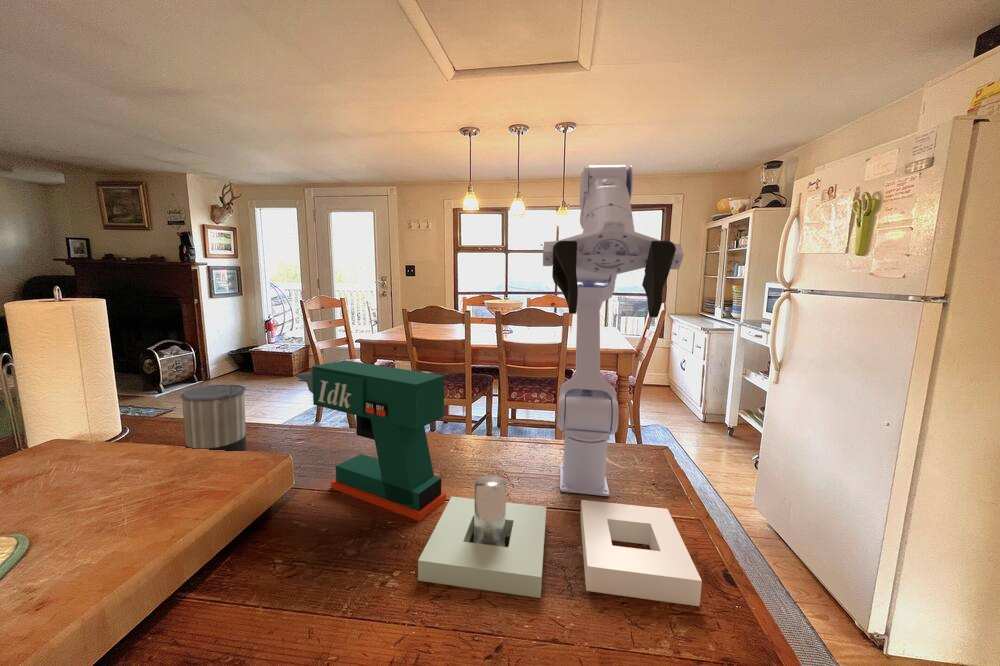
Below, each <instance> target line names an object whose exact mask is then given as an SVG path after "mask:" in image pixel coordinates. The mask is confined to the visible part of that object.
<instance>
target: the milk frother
mask: <svg viewBox="0 0 1000 666" xmlns="http://www.w3.org/2000/svg"><path fill="white" fill-rule="evenodd" d="M246 390H247V388H246V387H245V386H243V385H239V384H231V383H230V384H227V383H226V384H211V385H205V386H199V387H193V388H190V389H186V390H185V391H182V392H181V393H179V398H181V400H182V402H181V403H182V415H183V428H184V429H183V430H184V431H183V432H184V441H185V442H184V443H185V449H186V448H192V449H209V450H225V451H247V433H246V429H247V428H246V411H245V410H246V409H245V408H246V407H245V405H246V404H245V392H246Z"/></svg>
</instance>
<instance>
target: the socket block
mask: <svg viewBox="0 0 1000 666" xmlns="http://www.w3.org/2000/svg"><path fill="white" fill-rule="evenodd" d="M474 507H475V498H468V497H459V496H450V498H449V501H448V502H447V505H446V506H445V508H444V510H443V512H442V514H441V516H440V518H439V520H438V522H437V524H436V526H435V528H434V529H433V531H432V533H431V535H430V537H429V539H428V541H427V543H426V545H425V546H424V548H423V551H422V552H421V554H420V556H419V558H418V560H417V581H418V582H419V581H420V582H427V583H432V584H440V585H448V586H453V587H461V588H468V589H474V590H481V591H489V592H496V593H503V594H509V595H515V596H523V597H530V598H539V599H541V598H542V585H543V583H542V582H543V570H544V569H543V568H544V567H543V566H544V552H545V538H546V520H547V506H543V505H533V504H525V503H524V504H523V503H516V502H507V501H506V519H505V538H509V542H508V546H505V547H502V546H494V545H486V544H478V543H474V542H470V541H471V539H472V535H473V534H474Z"/></svg>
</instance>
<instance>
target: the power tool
mask: <svg viewBox="0 0 1000 666" xmlns="http://www.w3.org/2000/svg"><path fill="white" fill-rule="evenodd" d="M311 368H312V370H311V371H309V372H302V373H301V372H299V373H294V374H293V376H294V377H297V378H298V379H300V380H301V381H303V382H305V383H306V385H307V387H308V391H309V392H310V393H311V394H312V400H313V402H312V403H313V404H312V405H313V406H316V407H321V408H325V409H329V410H333V411H338V412H341V413H345V414H346V413H347V414H350V415H355V416H356V417H355V418H356V419H355V420H356V424H355V425H356V426H355V427H356V428H355V429H356V436H359V437H362V438H366V439H368V440H369V439H370V440H373V441H374V443H375V448H376V454H377V458H376V457H373V456H370V455H366V454H363V453H360V454H357V455H355V456H353V457H352V458H349V459H347V460H345V461H342V462H341V463H338V464H336V465H335V479H334V480H332V481H331V482H330V489H332V490H335V491H338V492H341V493H343V494H346V495H348V496H351V497H354V498H356V499H359V500H362V501H363V502H364V501H365V502H367V503H369V504H372V503H373V504H372V505H375V504H376V506H378V505H379V506H378V507H380V506H381V507H380V508H383V507H384V508H383V509H386V510H388V509H389V510H388V511H391V512H394V513H396V514H399V515H402V516H404V517H407V518H410V519H413V520H415V521H418V522H420V521H422V520H423V519H424V518H425V517H426V516H428V515H429V514H430V513H432V512H433V511H434V510H436V509H437V508H438V507H439V506H440V505H442V504H443V503H444V502H445V501H447V494H446V493H444V492H442V477H438V476H435V474H434V470H433V464H432V463H433V462H432V458H431V454H430V448H429V443H428V438H427V434H426V427H425V426H427V425H430V424H432V423H433V422H436V421H438V420H440V419H442V418H444V417H445V375H443V374H437V373H430V372H422V371H417V370H410V369H405V368H404V369H403V368H399V367H391V366H384V365H380V364H379V365H378V364H372V363H366V362H359V361H352V360H347V359H344V360H343V359H342V360H338V361H337V360H336V361H332V362H327V363H323V364H322V363H321V364H317V365H312V366H311ZM436 507H437V508H436ZM431 511H432V512H431ZM427 514H428V515H427Z"/></svg>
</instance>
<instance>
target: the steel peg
mask: <svg viewBox="0 0 1000 666" xmlns="http://www.w3.org/2000/svg"><path fill="white" fill-rule="evenodd" d="M507 484H508V483H507V481H506V479H505V478H503V477H502V476H498V475H495V474H494V475H491V474H490V475H482V476H480V477H478V478H476V480H475V482H474V499H475V507H474V533H473V543H478V544H486V545H494V546H502V547H506V543H505V542H506V537H505V519H506V502H507Z"/></svg>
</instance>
